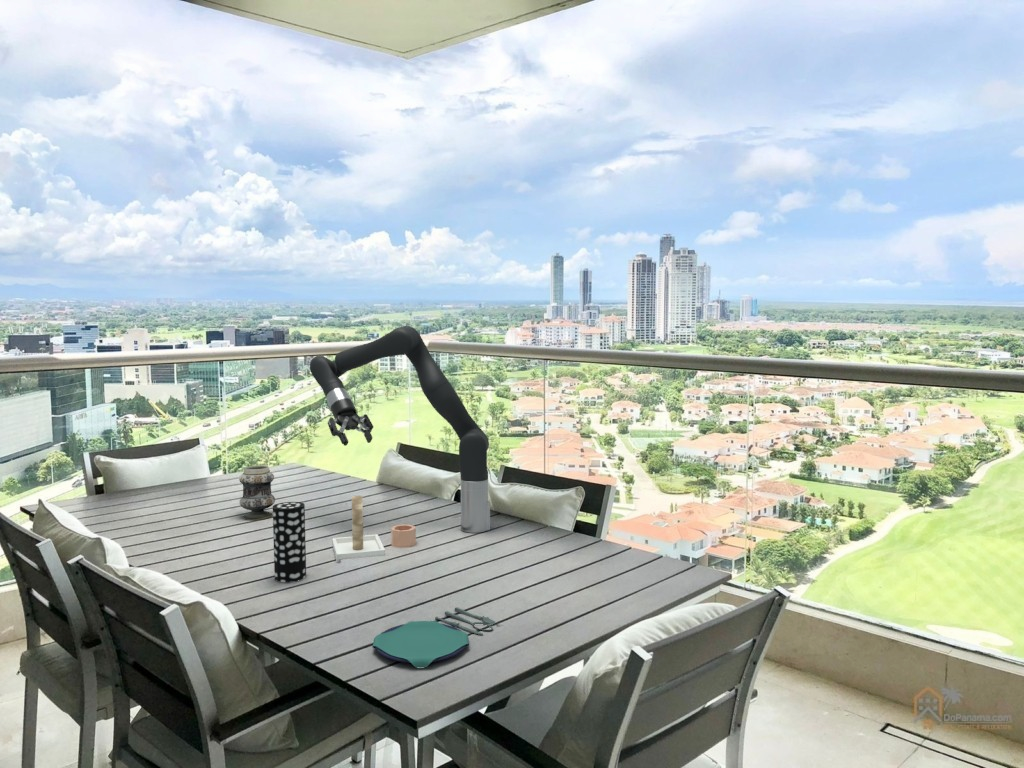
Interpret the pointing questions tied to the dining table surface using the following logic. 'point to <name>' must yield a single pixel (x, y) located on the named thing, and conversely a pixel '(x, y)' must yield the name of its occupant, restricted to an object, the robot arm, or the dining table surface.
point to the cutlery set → (426, 639)
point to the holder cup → (403, 536)
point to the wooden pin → (357, 522)
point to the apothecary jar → (257, 491)
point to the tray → (345, 550)
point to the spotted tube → (289, 541)
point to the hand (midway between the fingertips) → (358, 442)
